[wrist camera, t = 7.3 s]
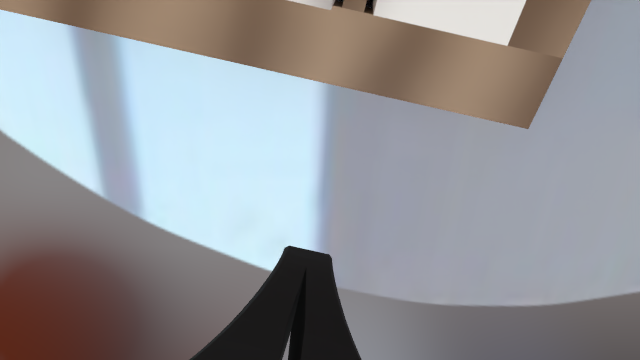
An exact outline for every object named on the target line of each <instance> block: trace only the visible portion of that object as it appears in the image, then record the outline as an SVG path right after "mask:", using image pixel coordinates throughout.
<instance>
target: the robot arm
mask: <svg viewBox="0 0 640 360" xmlns="http://www.w3.org/2000/svg"><path fill="white" fill-rule="evenodd" d="M290 332H291V335H290ZM289 335H290V346H289V355H288V360H361V358H360V355H359V353H358V351H357V348H356V346H355V344H354V341H353V338H352V336H351V333H350V331H349V328H348V325H347V322H346V320H345V316H344V313H343V309H342V306H341V303H340V299H339V296H338V292H337V287H336V283H335V278H334V273H333V266H332V258H331V256H330V255H329V254H324V253H320V252H315V251H311V250H306V249H302V248H297V247H293V246H288V247H286V248H285V249H284V251H283V254H282V256H281V258H280V260H279V261H278V263H277V265H276V266H275V268H274V269H273V271H272V273H271V274H270V276H269V277H268V278H267V280H266V281H265V283H264V284H263V285H262V287H261V288H260V289H259V291H258V292H257V293H256V294H255V296H254V297H253V298H252V299H251V300H250V301H249V303H248V304H247V305H246V306H245V307H244V308H243V310H242V311H241V312H240V313H239V314H238V315H237V316H236V317H235V318H234V320H233V321H232V322H231V323H230V324H229V325H228V326H227V327H226V328H225V329H224V330H223V331H222V332H221V333H220V334H218V335H217V336H216V337H215V338H214V339H213V340H212V341H211V342H210V343H209V344H207V345H206V346H205V347H204V348H203V349H202V350H201V351H200V352H198V353H197V354H196V355H195V356H194V357H192V358H191V359H190V360H282V358H283V355H284V351H285V348H286V345H287V342H288V338H289Z"/></svg>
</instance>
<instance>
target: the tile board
mask: <svg viewBox="0 0 640 360" xmlns="http://www.w3.org/2000/svg"><path fill="white" fill-rule="evenodd" d="M366 1H367V0H344V1H343V2H341V1H337V0H335V2H334V5H333V7H332V9H331V10H327V9H323V8H319V7H314V6H310V5H306V4H301V3H297V2H293V1H288V0H0V9H1V10H5V11H10V12H14V13H19V14H23V15H28V16H32V17H36V18H41V19H45V20H50V21H54V22H58V23H63V24H67V25H72V26H76V27H80V28H85V29H89V30H94V31H98V32H103V33H107V34H111V35H116V36H120V37H125V38H129V39H133V40H138V41H142V42H147V43H151V44H156V45H160V46H164V47H169V48H173V49H178V50H182V51H186V52H191V53H195V54H200V55H204V56H208V57H213V58H217V59H222V60H226V61H231V62H235V63H239V64H244V65H248V66H253V67H257V68H261V69H266V70H270V71H275V72H279V73H283V74H288V75H292V76H297V77H301V78H306V79H310V80H314V81H319V82H323V83H328V84H332V85H336V86H341V87H345V88H350V89H354V90H359V91H363V92H367V93H372V94H376V95H381V96H385V97H389V98H394V99H398V100H403V101H407V102H411V103H416V104H420V105H425V106H429V107H434V108H438V109H442V110H447V111H451V112H456V113H460V114H464V115H469V116H473V117H478V118H482V119H487V120H491V121H495V122H500V123H504V124H509V125H513V126H517V127H522V128H526V129H528V128H529V126H530V124H531V122H532V120H533V118H534V116H535V114H536V112H537V110H538V108H539V106H540V104H541V102H542V100H543V98H544V96H545V94H546V92H547V90H548V87H549V85H550V83H551V81H552V79H553V77H554V75H555V73H556V71H557V69H558V67H559V65H560V63H561V61H562V59H563V57H564V55H565V53H566V51H567V49H568V47H569V44H570V42H571V40H572V38H573V36H574V34H575V32H576V30H577V28H578V26H579V24H580V22H581V20H582V18H583V16H584V14H585V12H586V10H587V8H588V6H589V4H590V2H591V0H526V2H525V5H524V7H523V9H522V12H521V14H520V17H519V19H518V21H517V24H516V26H515V29H514V31H513V33H512V36H511V38H510V41H509V43H508V45H507V46H505V45H501V44H497V43H492V42H488V41H484V40H479V39H475V38H470V37H466V36H462V35H457V34H453V33H449V32H444V31H440V30H436V29H431V28H427V27H422V26H418V25H414V24H409V23H405V22H401V21H396V20H392V19H388V18H383V17H379V16H375V15H373V9H372V8H368V7H365V6H366Z"/></svg>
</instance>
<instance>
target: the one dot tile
mask: <svg viewBox="0 0 640 360" xmlns="http://www.w3.org/2000/svg"><path fill="white" fill-rule="evenodd" d="M525 2H526V0H373V15H375V16H379V17H383V18H388V19H392V20H396V21H401V22H405V23H409V24H414V25H418V26H422V27H427V28H431V29H436V30H440V31H444V32H449V33H453V34H457V35H462V36H466V37H470V38H475V39H479V40H484V41H488V42H492V43H497V44H501V45H505V46H507V45H508V43H509V41H510V38H511V36H512V33H513V31H514V29H515V26H516V24H517V21H518V19H519V17H520V14H521V12H522V9H523V7H524V5H525Z"/></svg>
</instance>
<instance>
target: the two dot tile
mask: <svg viewBox="0 0 640 360" xmlns="http://www.w3.org/2000/svg"><path fill="white" fill-rule="evenodd" d="M288 1H293V2H297V3H301V4H306V5H310V6H314V7H319V8H323V9H327V10H331V9H332V7H333V5H334V2H335V0H288Z"/></svg>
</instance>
